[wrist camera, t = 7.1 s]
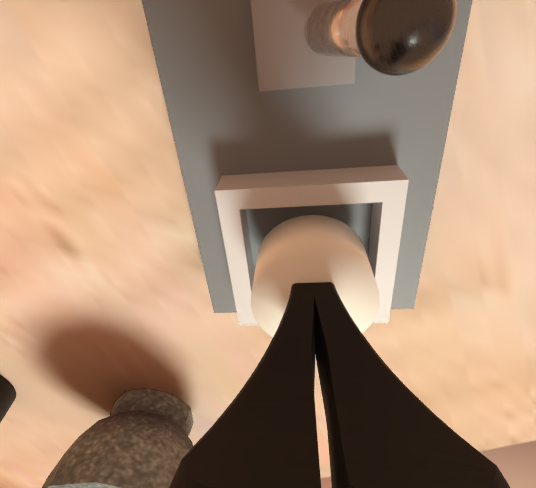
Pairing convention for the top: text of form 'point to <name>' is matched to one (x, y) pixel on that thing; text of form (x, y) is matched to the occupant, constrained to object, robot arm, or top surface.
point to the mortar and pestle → (129, 445)
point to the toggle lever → (382, 31)
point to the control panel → (299, 139)
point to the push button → (313, 269)
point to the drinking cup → (6, 396)
